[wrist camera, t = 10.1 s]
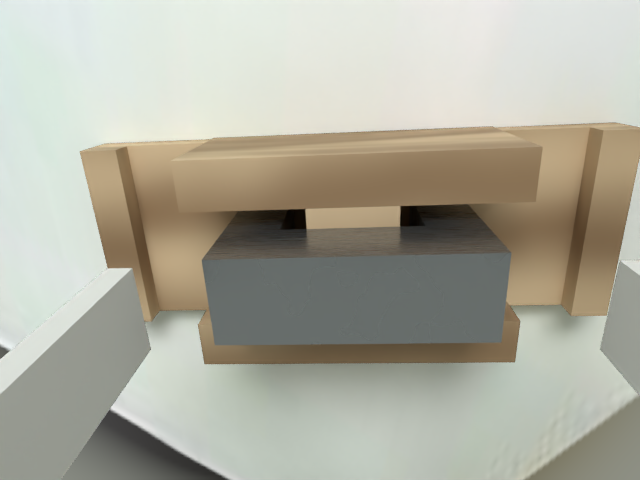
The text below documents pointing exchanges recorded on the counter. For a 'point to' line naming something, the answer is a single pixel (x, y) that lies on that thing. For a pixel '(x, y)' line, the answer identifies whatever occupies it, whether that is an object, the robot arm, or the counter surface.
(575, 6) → the counter surface
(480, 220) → the clip
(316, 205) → the rail
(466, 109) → the counter surface
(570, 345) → the counter surface
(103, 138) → the counter surface
